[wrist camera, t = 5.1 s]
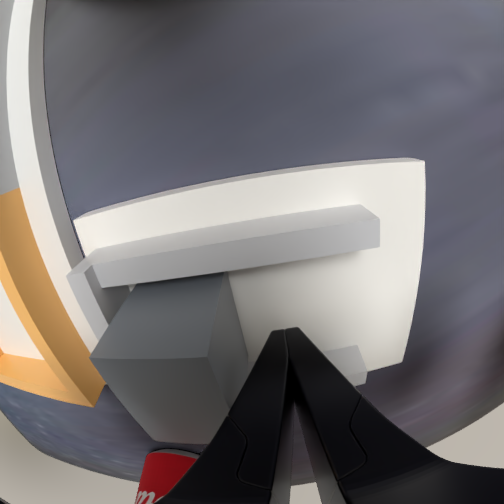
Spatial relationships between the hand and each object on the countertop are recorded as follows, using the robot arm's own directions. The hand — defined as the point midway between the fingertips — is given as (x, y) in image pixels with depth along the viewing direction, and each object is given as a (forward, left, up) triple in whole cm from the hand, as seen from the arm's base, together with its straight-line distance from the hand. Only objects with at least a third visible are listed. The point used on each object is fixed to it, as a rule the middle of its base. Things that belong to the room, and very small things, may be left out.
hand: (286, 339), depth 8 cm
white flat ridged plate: (+1, 0, -3) cm, 3 cm away
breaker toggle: (+3, 0, -2) cm, 3 cm away
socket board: (+15, -7, -3) cm, 16 cm away
